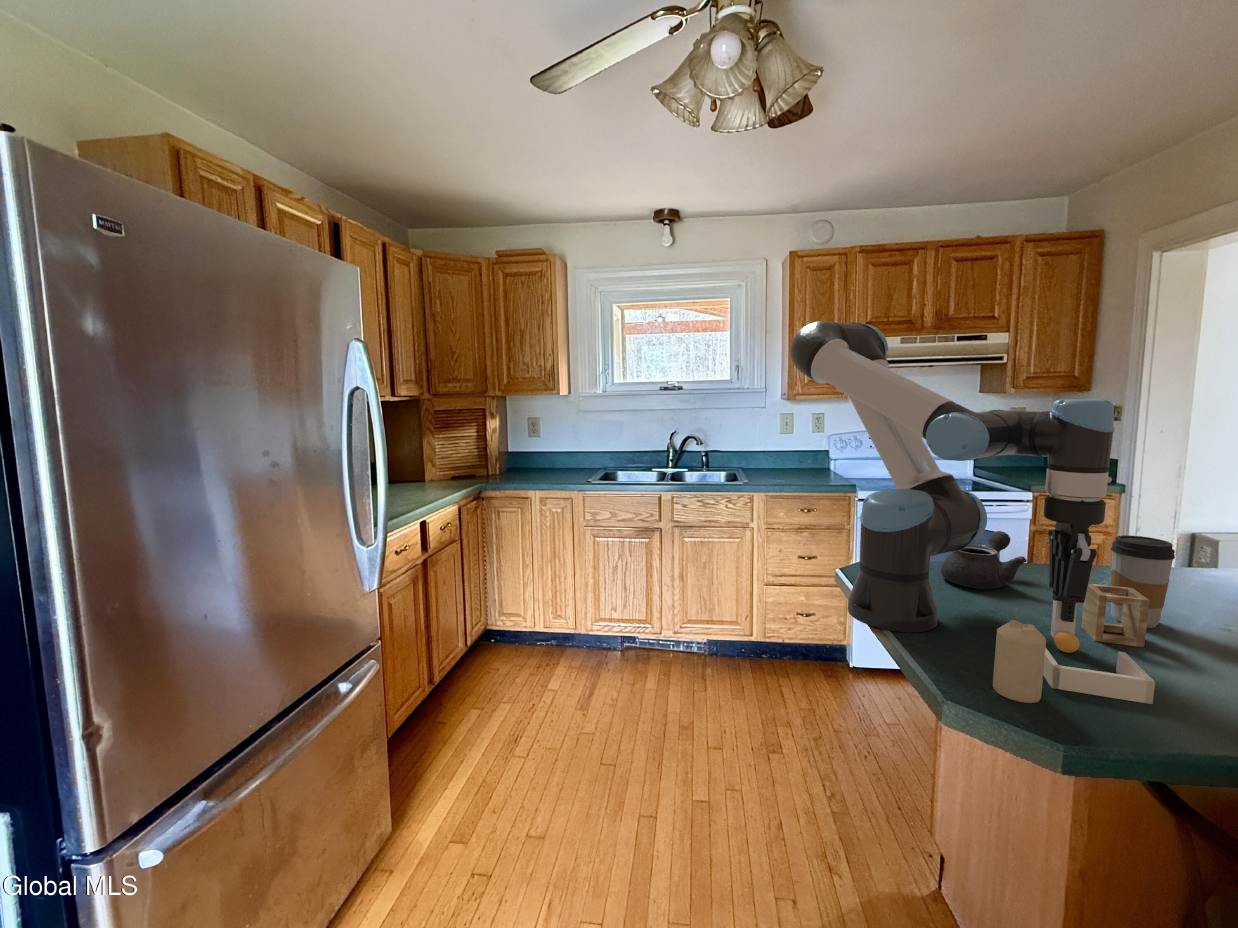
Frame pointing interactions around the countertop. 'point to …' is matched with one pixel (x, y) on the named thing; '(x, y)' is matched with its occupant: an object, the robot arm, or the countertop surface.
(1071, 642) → the ball
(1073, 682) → the white u-shaped corral
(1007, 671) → the candle
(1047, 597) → the countertop surface
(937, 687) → the countertop surface
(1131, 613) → the wooden cage
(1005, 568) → the teapot
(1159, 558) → the coffee cup
